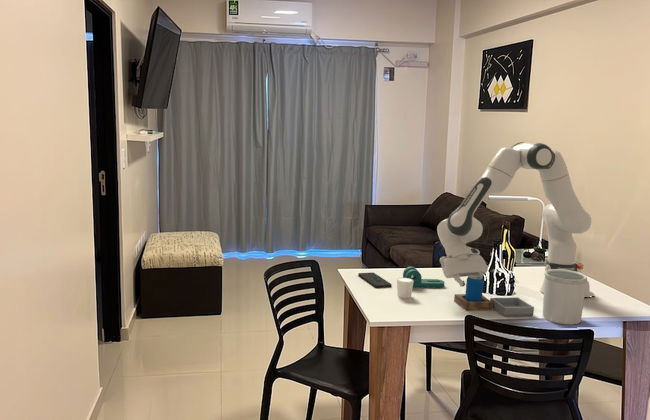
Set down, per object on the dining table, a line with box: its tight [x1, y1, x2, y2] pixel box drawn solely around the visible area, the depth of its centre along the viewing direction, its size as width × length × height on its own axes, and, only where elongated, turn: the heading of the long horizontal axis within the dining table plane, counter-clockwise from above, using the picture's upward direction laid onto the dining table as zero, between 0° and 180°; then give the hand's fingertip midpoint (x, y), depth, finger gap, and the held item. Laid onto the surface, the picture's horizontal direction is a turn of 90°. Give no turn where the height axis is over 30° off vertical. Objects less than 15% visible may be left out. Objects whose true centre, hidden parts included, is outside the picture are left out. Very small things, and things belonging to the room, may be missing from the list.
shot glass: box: [396, 277, 414, 299], centre depth 238 cm, size 7×7×7 cm
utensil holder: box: [542, 269, 588, 325], centre depth 217 cm, size 15×15×18 cm
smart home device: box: [357, 272, 392, 289], centre depth 258 cm, size 8×2×20 cm
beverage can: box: [464, 275, 484, 302], centre depth 229 cm, size 6×6×12 cm
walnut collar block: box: [453, 293, 494, 312], centre depth 229 cm, size 11×11×3 cm
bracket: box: [402, 266, 445, 289], centre depth 254 cm, size 18×7×8 cm, turn 95°
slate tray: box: [489, 296, 535, 318], centre depth 225 cm, size 12×12×4 cm
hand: (472, 284), depth 229 cm, fingers open, 8 cm apart
